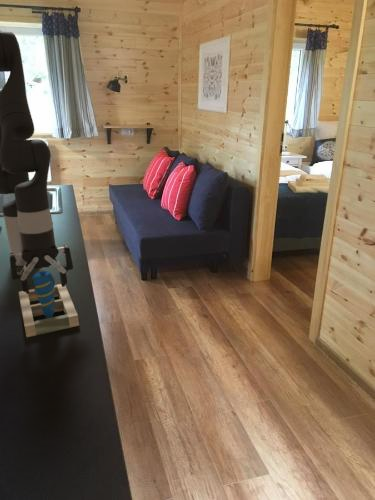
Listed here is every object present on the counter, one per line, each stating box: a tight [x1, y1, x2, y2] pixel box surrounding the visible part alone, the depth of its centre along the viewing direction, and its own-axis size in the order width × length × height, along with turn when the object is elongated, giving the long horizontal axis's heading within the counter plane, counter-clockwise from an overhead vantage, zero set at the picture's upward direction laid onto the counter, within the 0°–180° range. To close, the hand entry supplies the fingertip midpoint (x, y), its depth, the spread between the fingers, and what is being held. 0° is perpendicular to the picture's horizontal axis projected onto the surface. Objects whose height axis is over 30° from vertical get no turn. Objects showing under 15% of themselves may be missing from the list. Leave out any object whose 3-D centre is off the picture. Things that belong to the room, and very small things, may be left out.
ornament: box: [31, 267, 56, 319], centre depth 106 cm, size 5×5×15 cm
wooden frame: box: [18, 283, 80, 338], centre depth 112 cm, size 20×12×3 cm, turn 24°
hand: (45, 289), depth 105 cm, fingers open, 8 cm apart
